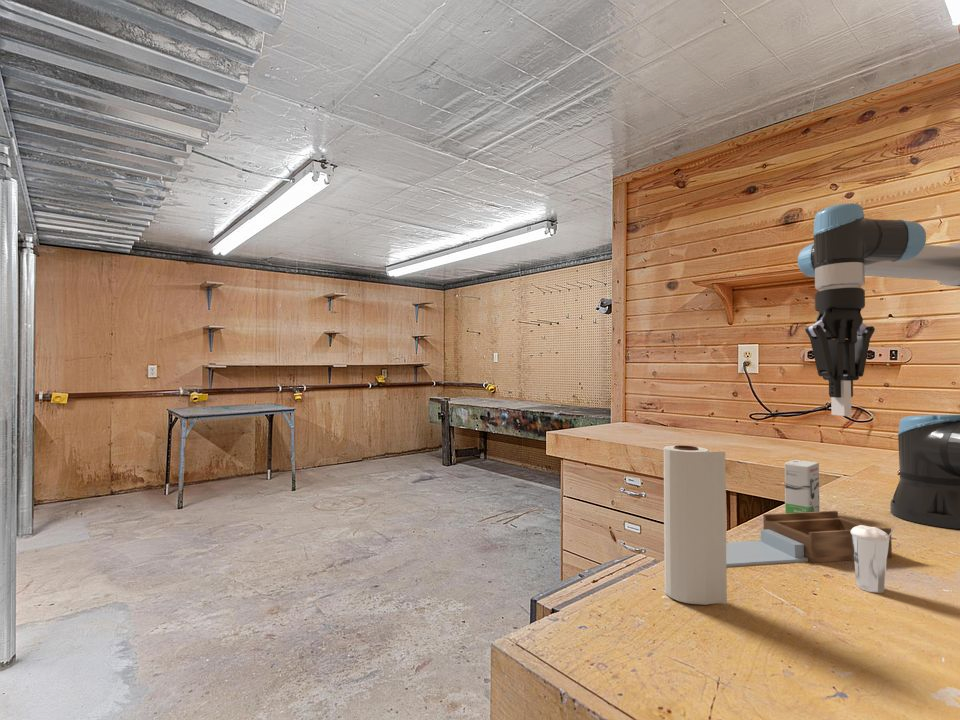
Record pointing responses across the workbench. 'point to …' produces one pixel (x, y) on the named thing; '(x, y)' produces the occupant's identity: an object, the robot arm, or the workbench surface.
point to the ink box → (801, 486)
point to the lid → (765, 550)
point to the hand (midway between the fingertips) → (841, 415)
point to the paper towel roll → (695, 525)
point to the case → (818, 534)
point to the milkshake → (870, 557)
